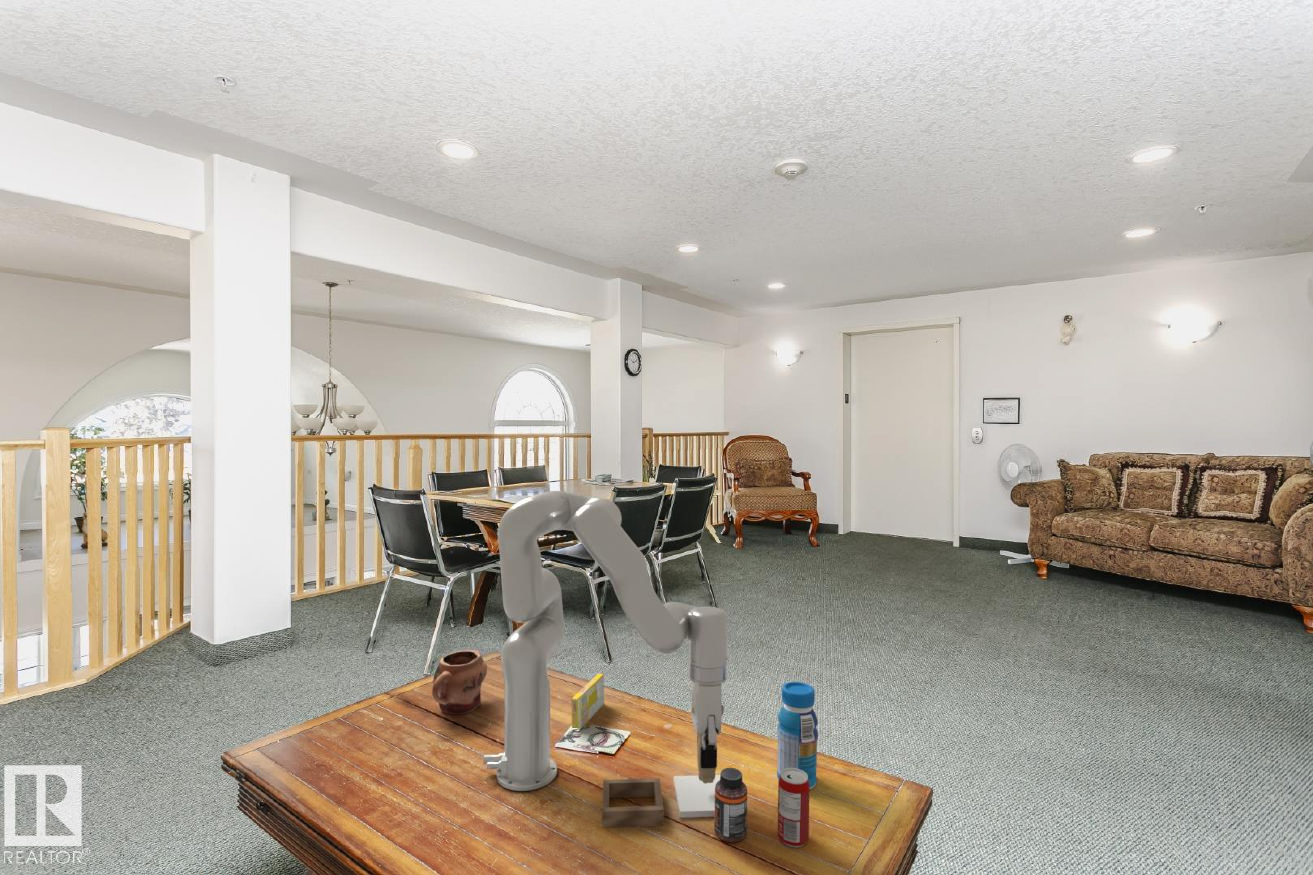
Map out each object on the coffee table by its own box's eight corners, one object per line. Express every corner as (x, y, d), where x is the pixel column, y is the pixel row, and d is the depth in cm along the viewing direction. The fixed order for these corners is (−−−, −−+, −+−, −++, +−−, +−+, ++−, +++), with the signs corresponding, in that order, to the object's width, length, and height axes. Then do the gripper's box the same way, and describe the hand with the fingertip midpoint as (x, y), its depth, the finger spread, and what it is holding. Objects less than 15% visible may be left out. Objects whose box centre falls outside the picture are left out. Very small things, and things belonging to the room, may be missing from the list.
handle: (718, 789, 123) (719, 714, 123) (687, 782, 125) (688, 708, 125) (725, 777, 127) (726, 703, 127) (695, 770, 130) (696, 698, 129)
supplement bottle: (711, 823, 118) (712, 764, 118) (742, 822, 119) (743, 763, 119) (717, 844, 112) (718, 782, 112) (750, 843, 113) (751, 781, 113)
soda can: (803, 828, 117) (805, 765, 117) (812, 848, 112) (813, 781, 111) (774, 828, 117) (775, 765, 117) (781, 848, 112) (782, 782, 111)
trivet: (679, 817, 120) (679, 811, 120) (673, 781, 132) (673, 776, 132) (741, 815, 121) (741, 809, 121) (730, 780, 133) (730, 774, 133)
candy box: (597, 703, 169) (597, 672, 168) (604, 704, 168) (605, 673, 168) (570, 731, 153) (570, 697, 153) (578, 732, 153) (578, 698, 152)
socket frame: (602, 827, 117) (602, 811, 117) (603, 794, 127) (603, 779, 127) (663, 825, 118) (663, 809, 118) (659, 792, 128) (659, 778, 128)
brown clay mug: (459, 731, 152) (459, 674, 152) (414, 725, 155) (414, 669, 154) (497, 696, 172) (497, 645, 171) (456, 691, 174) (456, 642, 174)
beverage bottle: (773, 787, 130) (774, 692, 130) (779, 766, 138) (781, 676, 138) (814, 796, 127) (816, 698, 127) (819, 774, 135) (820, 682, 135)
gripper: (684, 655, 134) (683, 740, 134) (694, 688, 117) (693, 785, 118) (719, 654, 134) (718, 739, 135) (734, 687, 118) (733, 784, 118)
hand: (706, 759), depth 126 cm, fingers closed on handle, 4 cm apart
